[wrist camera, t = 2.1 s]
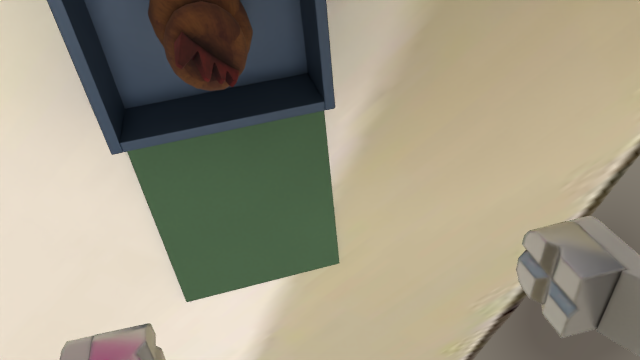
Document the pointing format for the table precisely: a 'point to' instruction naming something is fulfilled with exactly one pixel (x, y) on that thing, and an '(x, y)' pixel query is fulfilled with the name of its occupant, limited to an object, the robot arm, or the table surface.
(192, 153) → the mat
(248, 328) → the table surface
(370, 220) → the table surface
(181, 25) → the wooden figurine
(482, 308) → the table surface
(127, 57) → the tray
